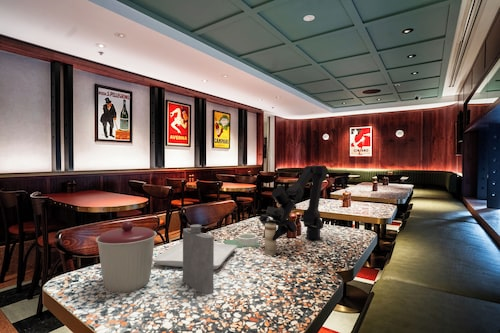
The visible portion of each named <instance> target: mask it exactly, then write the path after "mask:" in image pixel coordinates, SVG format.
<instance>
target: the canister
mask: <svg viewBox="0 0 500 333" xmlns="http://www.w3.org/2000/svg"><path fill="white" fill-rule="evenodd" d="M156 237H157V232H156V231H155V230H153V229H152V228H148V227H142V226H134V223H133V222H132V221H130V220H128V221H127V220H126V221H123V222H122V223H121V226H120V227H119V228H115V229H110V230H107V231H105V232H103V233H101V234H100V235H98V236H97V237H96V238H95V240H94V241H95V242H96V243H97V246H98V253H99V254H98V256H99V262H100V269H101V276H102V282H103V286H104V287H105V289H106V290H107V291H109V292H111V293H115V294H116V293H117V294H118V293H120V294H122V293H128V292H133V291H137V290H139V289H142V288H143V287H145V286H146V285H147V284H148V283H149V280H150V278H151V273H152V266H153V261H152V259H153V257H154V250H155V247H154V246H155V239H156Z"/></svg>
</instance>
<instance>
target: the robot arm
mask: <svg viewBox="0 0 500 333" xmlns="http://www.w3.org/2000/svg"><path fill="white" fill-rule="evenodd" d="M328 173H329V170H328V167H327V166H326V165H320V164H317V165H316V164H315V165H305V167H304V169H303V171H302V173H301V174H300V176H299V177H298V178H297V180H296V181H295V183H294V184H292V185H290V186H289V187H288V188H287V189H285V186H283V185H279V186H278V187H276V188H275V189H273V190H272V191H271V197H272V198H274V200H275V202H276V203H277V204H278V205H280V206H278V207H274V206H267V209H266V214H268V215H270V216H268V215H265V214H261V215H260V216H258V220H259V222H260V223H261V224H262V225H263V226H264V227H265V223H275V224H276V226H277V228H276V232H275V234H274V236H273V239H272V240H273V241H275V240H276V241H277V239H280V238H281V237H282V236H285V235H286V234H289V232H290V233H293V234H295V233H296V232H297V230H298V226H297V225H296V224H295V222H294V220H292V219H291V213H292V210H297V205H296V203H294V202H300V201H301V200H302V198H303V196H304V189H305V188H306V186H307V184H308V183H309V181H310V180H311V179H312V184H311V190H310V195H309V201H308V207H307V209H304V210H303V214H302V222H303V227H305V228H306V231H305V232H306V234H305V235H306V236H305V239H306V240H309V241H311V242H314V241H315V242H317V241H321V240H323V238H321V230H322V229H324V223H323V221H322V219H321V213H320V210H319V204H320V200H321V193H322V187H323V186H322V185H323V183H324V181H325V180H326V178H327V176H328ZM262 237H263V239H265V228H264V229H263V236H262Z"/></svg>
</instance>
